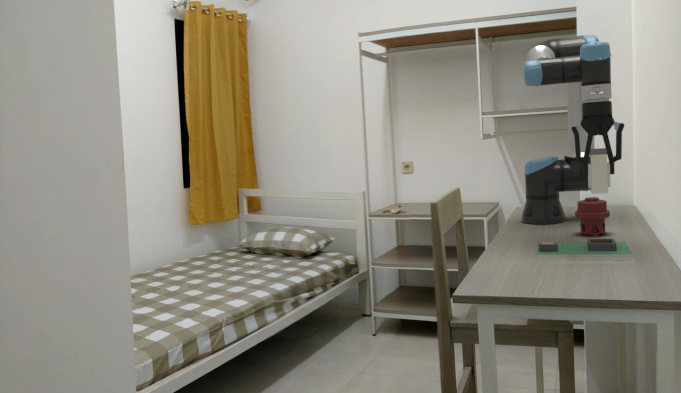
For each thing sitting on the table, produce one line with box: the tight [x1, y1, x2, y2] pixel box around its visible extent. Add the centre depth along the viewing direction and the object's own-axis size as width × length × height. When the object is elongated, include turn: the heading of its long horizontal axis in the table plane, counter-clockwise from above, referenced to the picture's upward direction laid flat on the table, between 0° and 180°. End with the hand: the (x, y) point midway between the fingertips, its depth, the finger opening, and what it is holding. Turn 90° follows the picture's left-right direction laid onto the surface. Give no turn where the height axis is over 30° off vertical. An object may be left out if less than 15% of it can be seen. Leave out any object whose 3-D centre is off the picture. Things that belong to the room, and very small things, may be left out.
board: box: [536, 238, 633, 255], centre depth 174 cm, size 16×24×3 cm, turn 71°
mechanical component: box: [574, 196, 611, 237], centre depth 191 cm, size 12×10×10 cm
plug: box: [590, 147, 609, 195], centre depth 169 cm, size 4×4×12 cm
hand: (599, 186), depth 170 cm, fingers closed on plug, 4 cm apart
